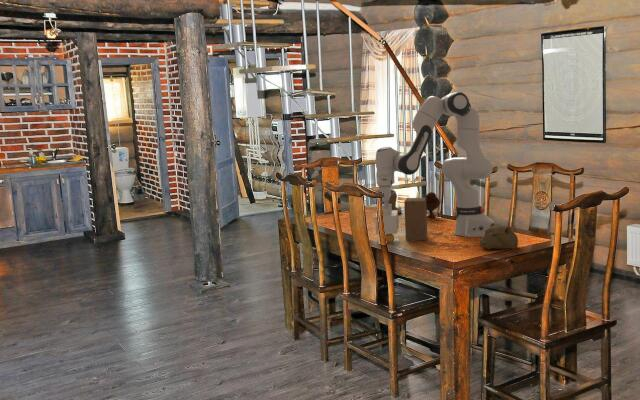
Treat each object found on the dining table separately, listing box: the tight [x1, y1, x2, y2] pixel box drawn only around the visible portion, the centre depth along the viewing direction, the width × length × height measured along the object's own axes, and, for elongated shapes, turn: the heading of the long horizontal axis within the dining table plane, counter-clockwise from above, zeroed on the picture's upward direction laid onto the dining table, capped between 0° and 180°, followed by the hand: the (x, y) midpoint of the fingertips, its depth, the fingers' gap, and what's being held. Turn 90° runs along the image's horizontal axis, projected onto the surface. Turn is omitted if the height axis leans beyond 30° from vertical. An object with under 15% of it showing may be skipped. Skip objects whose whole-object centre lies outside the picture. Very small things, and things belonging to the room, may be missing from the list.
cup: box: [374, 204, 400, 235], centre depth 346 cm, size 15×10×13 cm
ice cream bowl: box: [422, 191, 441, 219], centre depth 400 cm, size 11×11×15 cm
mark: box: [393, 237, 399, 245], centre depth 348 cm, size 10×12×1 cm
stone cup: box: [382, 189, 402, 215], centre depth 417 cm, size 15×12×15 cm
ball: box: [384, 234, 395, 242], centre depth 344 cm, size 5×5×5 cm
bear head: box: [479, 222, 519, 252], centre depth 320 cm, size 14×18×12 cm
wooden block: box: [403, 197, 428, 241], centre depth 349 cm, size 10×10×20 cm
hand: (386, 207), depth 345 cm, fingers closed on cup, 3 cm apart
